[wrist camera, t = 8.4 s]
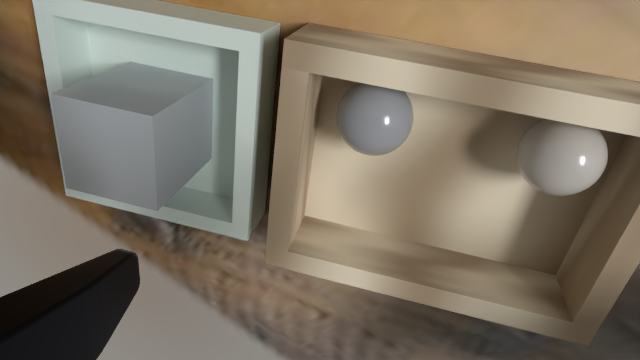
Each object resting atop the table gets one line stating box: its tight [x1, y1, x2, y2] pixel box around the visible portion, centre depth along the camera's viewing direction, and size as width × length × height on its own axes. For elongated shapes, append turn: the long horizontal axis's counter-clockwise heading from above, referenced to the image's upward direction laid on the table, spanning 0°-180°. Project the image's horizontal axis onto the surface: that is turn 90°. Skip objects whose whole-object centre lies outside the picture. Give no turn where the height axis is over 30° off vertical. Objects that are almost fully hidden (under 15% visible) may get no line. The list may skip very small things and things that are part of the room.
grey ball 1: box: [336, 82, 414, 156], centre depth 18 cm, size 3×3×3 cm
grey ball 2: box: [516, 118, 608, 196], centre depth 17 cm, size 3×3×3 cm
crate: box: [264, 23, 640, 346], centre depth 19 cm, size 14×10×4 cm
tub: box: [32, 0, 280, 241], centre depth 21 cm, size 10×10×2 cm
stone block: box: [51, 62, 213, 211], centre depth 19 cm, size 4×4×5 cm
